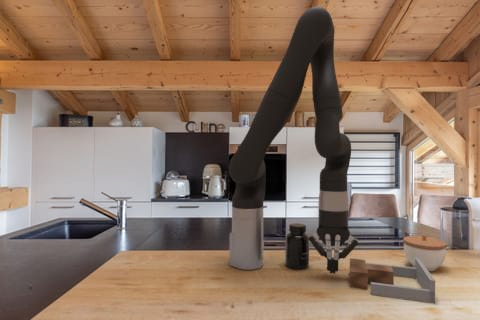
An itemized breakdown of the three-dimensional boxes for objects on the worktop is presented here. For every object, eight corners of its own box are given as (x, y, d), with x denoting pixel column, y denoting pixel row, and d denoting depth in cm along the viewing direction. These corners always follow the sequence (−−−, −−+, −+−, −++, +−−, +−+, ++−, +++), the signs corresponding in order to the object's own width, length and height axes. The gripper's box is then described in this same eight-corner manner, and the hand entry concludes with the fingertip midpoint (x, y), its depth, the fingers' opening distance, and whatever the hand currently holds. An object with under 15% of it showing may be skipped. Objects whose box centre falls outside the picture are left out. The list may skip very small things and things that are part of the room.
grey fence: (370, 294, 72) (371, 273, 72) (366, 271, 86) (366, 253, 86) (434, 303, 68) (435, 280, 68) (419, 277, 82) (419, 258, 82)
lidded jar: (405, 271, 87) (405, 237, 86) (401, 258, 96) (401, 229, 96) (450, 276, 83) (450, 241, 82) (441, 263, 92) (441, 232, 92)
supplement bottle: (309, 271, 86) (309, 228, 86) (284, 269, 88) (284, 227, 87) (308, 262, 93) (309, 222, 93) (286, 260, 94) (286, 221, 94)
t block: (350, 287, 76) (350, 271, 76) (349, 272, 85) (349, 258, 85) (395, 293, 73) (395, 276, 72) (389, 277, 82) (389, 262, 82)
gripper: (306, 208, 80) (305, 274, 80) (360, 211, 76) (360, 281, 76) (309, 204, 87) (308, 264, 88) (359, 206, 83) (358, 270, 83)
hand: (332, 272), depth 82 cm, fingers closed
